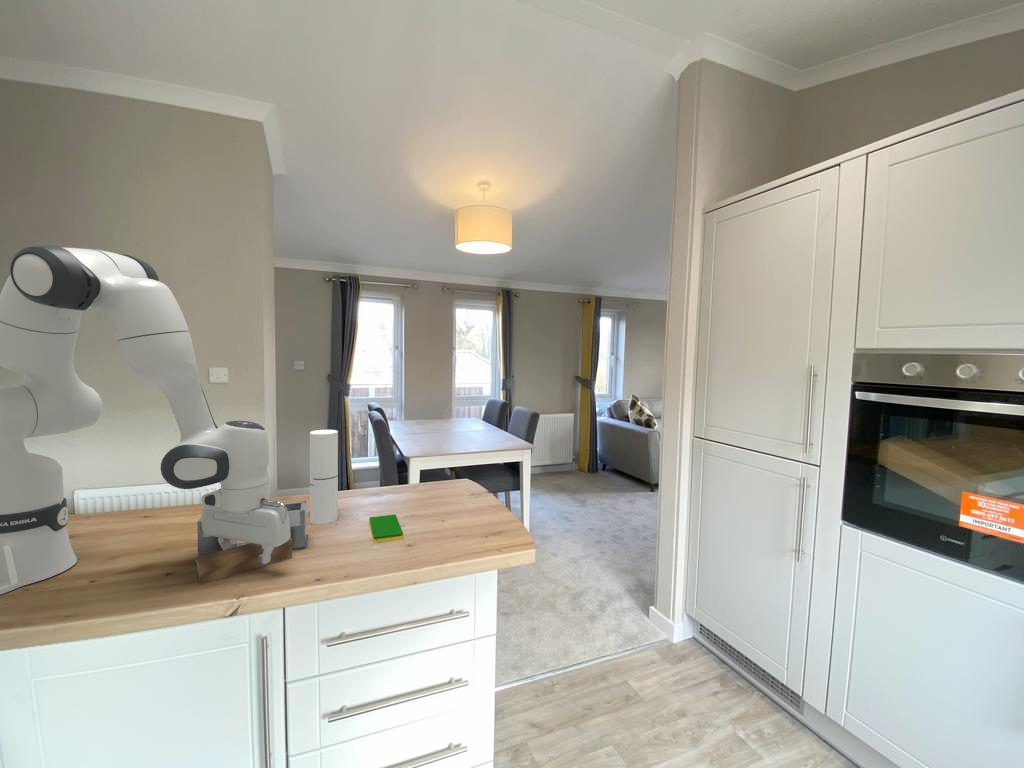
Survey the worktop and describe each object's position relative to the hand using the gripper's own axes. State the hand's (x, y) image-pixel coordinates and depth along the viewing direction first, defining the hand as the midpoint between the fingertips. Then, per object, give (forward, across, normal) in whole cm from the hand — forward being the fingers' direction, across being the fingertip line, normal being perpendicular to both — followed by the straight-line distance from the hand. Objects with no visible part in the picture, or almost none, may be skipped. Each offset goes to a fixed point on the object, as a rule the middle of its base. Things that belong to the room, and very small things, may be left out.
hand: (246, 559), depth 91 cm
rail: (+2, 0, 0) cm, 2 cm away
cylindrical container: (+2, +3, -28) cm, 28 cm away
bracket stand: (+2, +5, -7) cm, 9 cm away
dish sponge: (+3, -18, -26) cm, 32 cm away
